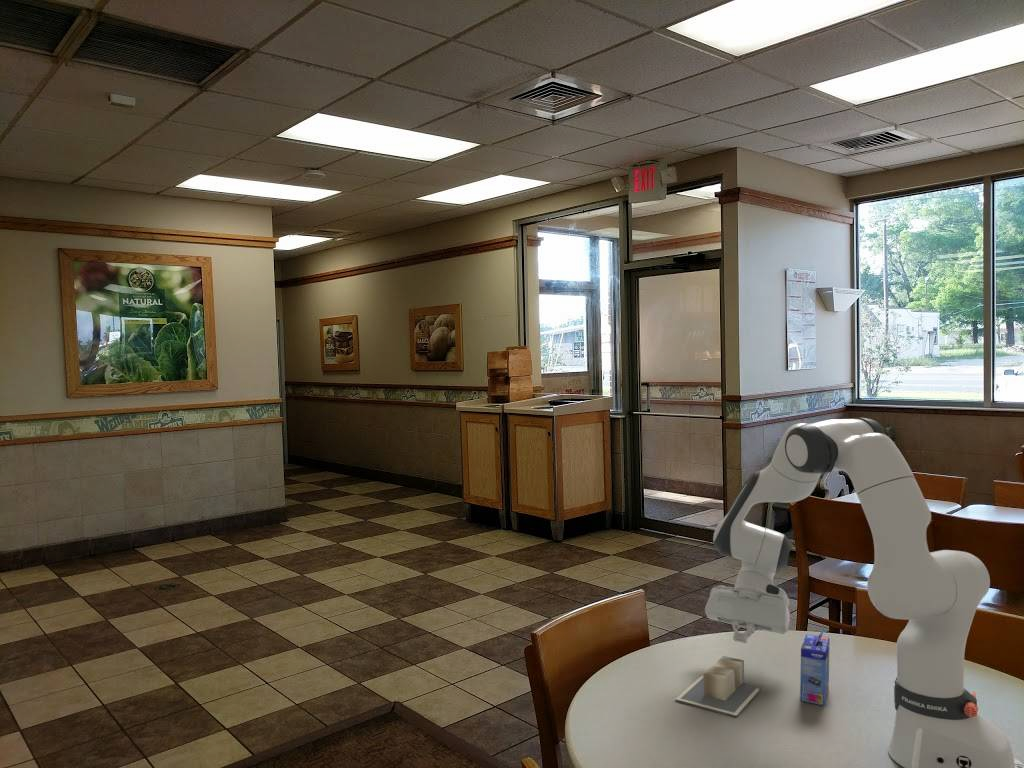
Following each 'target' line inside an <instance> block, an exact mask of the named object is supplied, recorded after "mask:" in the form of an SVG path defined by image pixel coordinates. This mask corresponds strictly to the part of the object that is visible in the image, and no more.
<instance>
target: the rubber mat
mask: <svg viewBox="0 0 1024 768" xmlns="http://www.w3.org/2000/svg"><path fill="white" fill-rule="evenodd" d="M761 691H762V688H761V687H757V686H753V685H749V684H744V683H742V684H741V685H740V686H739V687H738V688H737V689H736V690H735V691H734V692H733V693H732V694H731V695H730V697H729V698H728V699H727V700H726V701H725V700H721V699H718V698H714V697H710V696H706V695H704V673H703V674H701V676H699V677H698V678H697V679H696V680H695V681H694V682H692V683H691V684H690V685H689V686H688V687H687V688H686V689H685V690H683V691H682V693H680V694H679V695H678V696H677V697H676V698H675V699H674V701H675V702H678V703H680V704H681V703H682V704H684V705H688V706H692V707H696V708H700V709H703V710H707V711H711V712H715V713H718V714H722V715H726V716H729V717H734V718H738V717H739V716H740V715H741V713H742V712H743V711H744V710H745V708H747V706H748V705H749V704H750V703H751V702H752V701H753V700H754V699H755V698H756V697H757V695H758V694H759V693H760V692H761Z"/></svg>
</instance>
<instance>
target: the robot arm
mask: <svg viewBox="0 0 1024 768" xmlns="http://www.w3.org/2000/svg"><path fill="white" fill-rule="evenodd" d="M842 471H843V473H846V474H847V475H848V476H849V479H850V481H851V483H852V486H853V488H854V490H855V494H856V496H857V498H858V501H859V503H860V505H861V508H862V510H863V513H864V515H865V518H866V520H867V523H868V526H869V528H870V531H871V535H872V540H873V547H874V548H873V549H874V560H873V567H872V570H871V572H870V574H869V575H868V578H867V585H866V586H867V593H868V597H869V599H870V602H871V603H872V605H873V607H875V608H876V610H877V611H878V612H879V613H880V614H882V615H883V616H885V617H886V618H890V619H895V620H908V622H907V624H906V626H905V628H904V629H903V630H902V631H901V632H900V633H899V636H898V638H897V641H896V678H895V680H894V684H893V704H894V709H895V718H894V725H893V732H892V736H891V739H890V742H889V746H888V748H887V749H888V750H887V751H888V754H889V756H890V758H891V759H892V760H893V761H895V762H896V763H897V764H898V765H900V766H901V767H903V768H1024V763H1023V762H1022V761H1020V760H1019V759H1017V758H1015V757H1014V752H1013V749H1012V746H1011V744H1010V742H1009V739H1008V737H1007V736H1006V734H1004V732H1002V730H999V728H997V727H996V726H995V725H994V724H992V723H991V722H989V721H988V720H987V719H986V718H985V717H983V715H981V714H980V713H979V707H978V699H977V695H976V692H975V691H973V693H971V692H970V691H968V690H967V689H966V688H965V684H964V683H965V674H964V673H965V653H966V652H965V651H966V645H967V639H968V636H969V632H970V630H971V626H972V623H973V619H974V618H975V617H974V616H975V615H976V611H977V609H978V607H979V605H980V603H981V602H982V600H983V599H984V598H985V597H986V595H987V594H988V592H989V590H990V586H991V578H990V574H989V570H988V569H987V567H986V565H985V564H984V563H983V561H982V560H981V559H980V558H979V557H977V556H975V555H974V554H972V553H969V552H967V551H961V550H954V549H953V550H952V549H951V550H950V549H942V550H935V551H932V552H931V551H930V550H929V545H928V540H927V531H928V530H927V529H928V526H929V524H930V523H931V520H932V513H931V510H930V507H929V505H928V503H927V502H926V499H925V497H924V495H923V492H922V491H921V488H920V486H919V484H918V481H917V480H916V478H915V475H914V473H913V472H912V471H913V470H912V469H911V467H910V465H909V464H908V462H907V460H906V459H905V457H904V455H903V454H902V452H901V451H900V449H899V448H898V447H897V445H896V444H895V442H894V441H893V439H891V438H890V437H889V436H888V435H887V434H886V431H885V429H884V427H883V426H882V425H881V424H880V423H879V422H878V421H876V420H874V419H871V418H866V417H853V418H841V419H840V418H839V419H836V418H831V419H825V420H820V421H816V422H812V423H806V422H800V423H799V422H798V423H795V424H792V425H790V426H789V427H788V428H787V430H786V431H785V432H784V434H783V436H782V437H781V439H780V441H779V442H778V444H777V447H776V448H775V450H774V452H773V456H772V459H771V461H770V462H769V464H768V465H767V466H766V467H765V468H763V469H761V470H758V471H753V473H751V474H750V475H749V477H748V478H747V479H746V481H745V482H744V484H743V486H742V487H741V488H740V491H738V493H737V495H736V497H735V499H734V500H733V501H732V504H731V505H730V507H729V508H728V511H727V512H726V513H725V515H724V516H723V518H722V519H721V520H720V521H719V523H718V524H717V526H716V527H715V529H714V532H713V537H712V543H713V545H714V547H715V549H716V551H717V553H719V554H720V555H721V556H725V557H728V558H733V559H736V560H739V561H741V568H740V569H739V571H738V573H737V577H736V580H735V585H734V587H733V586H725V585H722V584H719V585H716V586H714V587H712V588H711V589H710V593H709V598H708V600H707V603H706V605H705V608H704V613H705V615H706V616H707V618H708V619H709V620H711V621H716V622H721V623H726V624H731V626H732V629H733V632H734V633H733V637H732V638H733V639H732V640H733V641H734V642H737V643H741V644H742V643H743V644H747V642H748V639H749V638H750V637H751V635H753V634H754V633H755V631H756V630H761V631H767V632H772V633H776V634H779V635H780V634H781V635H784V634H786V633H787V632H788V630H789V628H790V627H789V626H790V618H791V617H790V614H791V613H790V611H789V609H788V608H789V606H790V600H789V597H788V595H787V593H786V591H785V590H784V589H783V588H781V587H779V586H777V585H776V584H774V576H775V575H776V574H779V573H781V572H782V571H784V570H785V569H787V566H788V561H789V555H790V552H791V550H792V544H791V542H790V540H789V539H788V537H787V536H786V535H785V534H784V533H781V532H779V531H776V530H774V529H770V528H767V527H763V526H760V525H757V524H755V523H751V522H749V521H746V520H745V518H746V516H747V515H748V513H749V512H750V510H751V509H752V507H753V506H754V505H756V504H760V503H786V504H787V503H795V502H796V503H797V502H799V501H802V500H804V499H807V498H808V497H810V495H811V494H812V493H813V492H814V491H815V488H816V486H817V485H818V483H819V480H820V478H821V476H822V474H826V473H831V472H842ZM741 627H745V628H747V629H746V630H745V631H744V632H739V631H738V630H740V628H741Z"/></svg>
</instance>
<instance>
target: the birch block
mask: <svg viewBox="0 0 1024 768" xmlns="http://www.w3.org/2000/svg"><path fill="white" fill-rule="evenodd" d="M703 674H704V695H706V696H710V697H714V698H718V699H721V700H725V701H726V700H727V699H728V698H729V697H730V695H731V694H732V693H733V692H734V691H735V690H736V689H737V688H738V687H739V686H740V685H741V684H744V682H745V660H744V659H739V658H736V657H735V658H734V657H730V656H725V655H722V656H721V657H720V658H719V659H718V660H717V661H716V662H715V663H714V664H712V665H711V666H710V667H709V668H708V669H707V670H705V671H704V672H703Z"/></svg>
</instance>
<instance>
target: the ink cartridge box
mask: <svg viewBox="0 0 1024 768" xmlns="http://www.w3.org/2000/svg"><path fill="white" fill-rule="evenodd" d="M823 635H824V630H822V631H821V632H819V634H818V635H814V634H807V633H806V634H805V637H804V640H803V643H802V645H801V648H800V673H799V674H800V684H799V686H800V687H799V688H800V689H799V690H800V691H799V695H800V696H799V700H800V702H805V703H810V704H815V705H818V706H825V705H826V702H827V698H828V695H829V691H830V690H829V689H830V688H829V687H830V686H829V683H830V682H829V681H830V638H829V637H825V636H823Z"/></svg>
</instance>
